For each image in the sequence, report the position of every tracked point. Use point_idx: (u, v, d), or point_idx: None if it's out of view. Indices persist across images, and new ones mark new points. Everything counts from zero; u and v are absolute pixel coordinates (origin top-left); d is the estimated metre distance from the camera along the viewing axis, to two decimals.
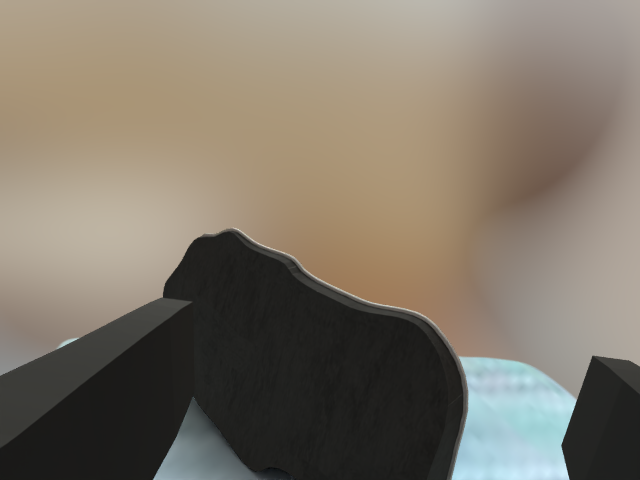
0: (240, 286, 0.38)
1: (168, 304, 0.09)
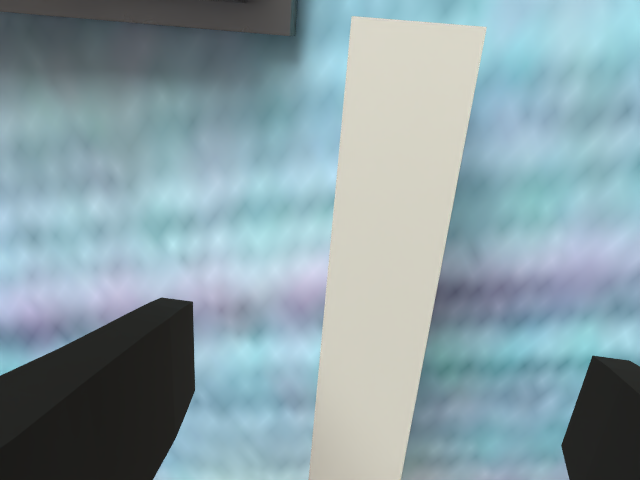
0: None
1: (168, 304, 0.09)
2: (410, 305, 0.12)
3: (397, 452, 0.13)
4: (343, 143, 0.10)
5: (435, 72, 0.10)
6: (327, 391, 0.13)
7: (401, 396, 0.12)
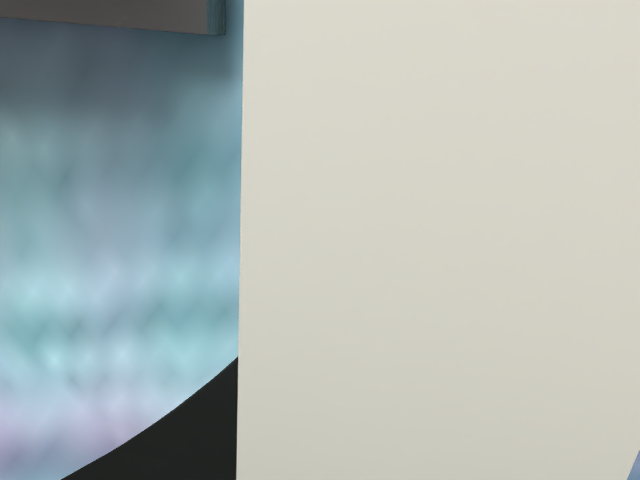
0: None
1: None
2: None
3: None
4: (249, 379, 0.03)
5: (579, 173, 0.02)
6: None
7: None
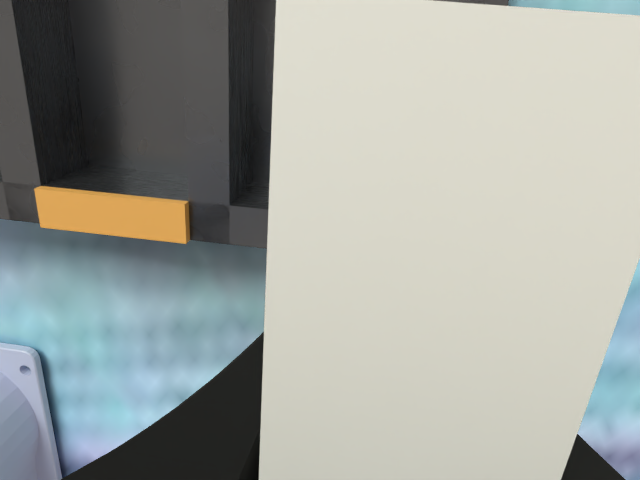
0: None
1: None
2: None
3: None
4: (273, 333, 0.04)
5: (535, 160, 0.03)
6: None
7: None
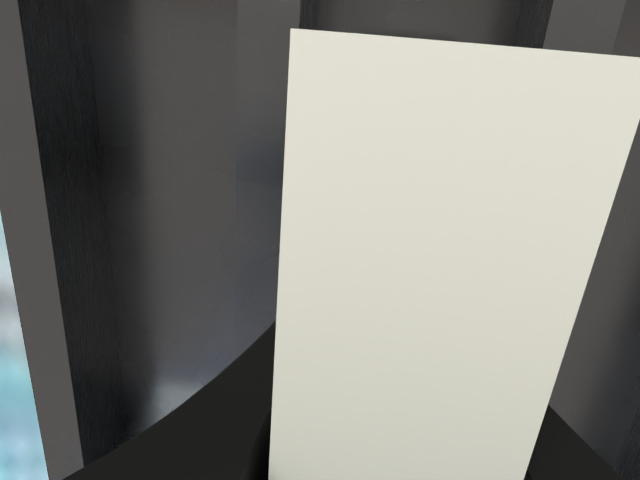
0: None
1: None
2: None
3: None
4: (284, 319, 0.04)
5: (508, 171, 0.04)
6: None
7: None
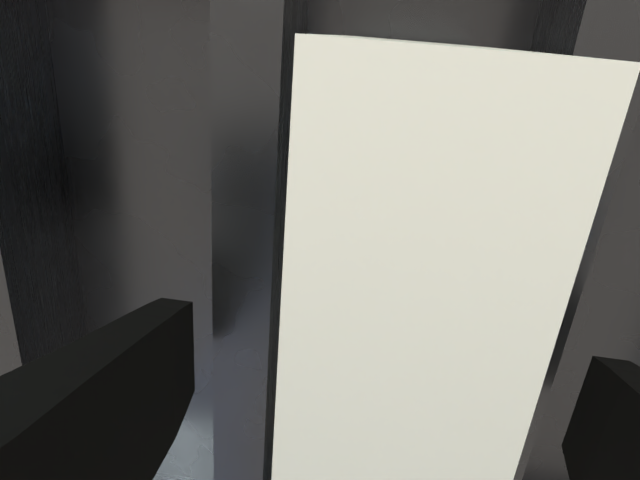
0: None
1: (168, 304, 0.09)
2: None
3: None
4: (288, 310, 0.05)
5: (499, 169, 0.04)
6: None
7: None
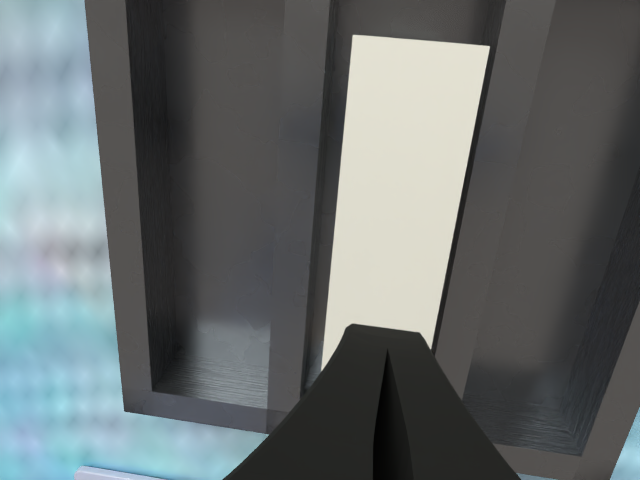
0: None
1: (369, 331, 0.08)
2: (412, 324, 0.11)
3: None
4: (344, 162, 0.10)
5: (437, 91, 0.09)
6: None
7: None
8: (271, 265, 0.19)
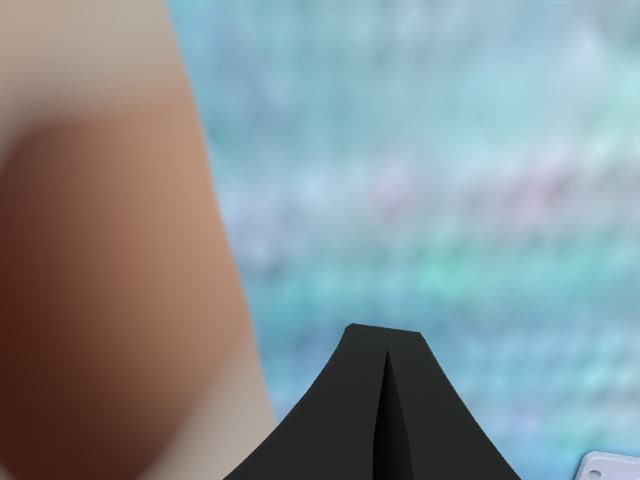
0: None
1: (369, 331, 0.08)
2: None
3: None
4: None
5: None
6: None
7: None
8: None
